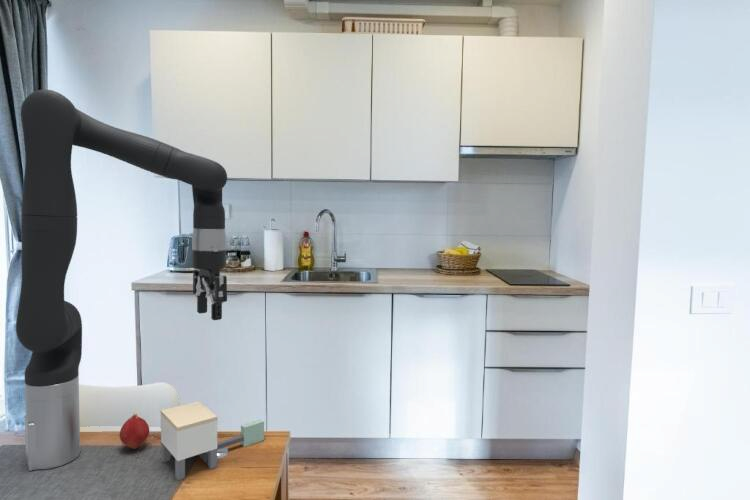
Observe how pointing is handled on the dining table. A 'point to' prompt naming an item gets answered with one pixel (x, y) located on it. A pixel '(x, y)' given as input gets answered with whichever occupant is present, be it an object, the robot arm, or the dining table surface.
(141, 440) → the onion
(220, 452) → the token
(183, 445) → the cabinet
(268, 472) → the dining table surface
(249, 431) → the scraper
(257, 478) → the dining table surface
